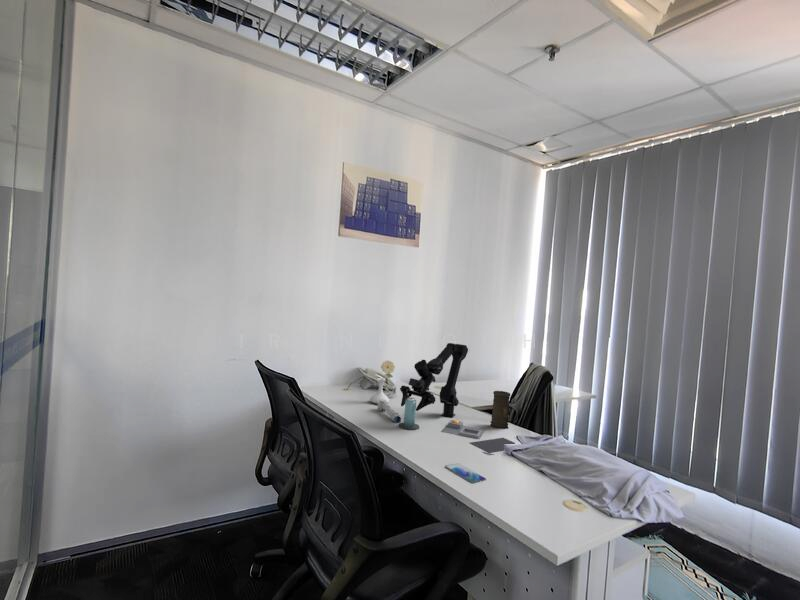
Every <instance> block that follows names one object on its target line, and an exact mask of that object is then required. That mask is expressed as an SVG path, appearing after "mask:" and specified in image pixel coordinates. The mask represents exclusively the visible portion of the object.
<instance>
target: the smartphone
mask: <svg viewBox="0 0 800 600" xmlns="http://www.w3.org/2000/svg"><path fill="white" fill-rule="evenodd" d="M444 468H445V469H446V468H447V470H448V469H449V470H448V471H450V470H451V471H450V472H452V473H453V472H454V475H457V476H458V475H459V477H460V478H461V479H463V478H464V480H465V481H467V482H469V483H470V482H471V484H477V483H481V482H485V481H487V478H485V477H484V476H482V475H480V474H478V473H477V472H475V471H473V470H471V469H470V468H468V467H466V466H464V465H462V464H461V463H452V464H451V463H450V464H447V465H445V466H444ZM484 480H485V481H484ZM480 481H481V482H480Z"/></svg>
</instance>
